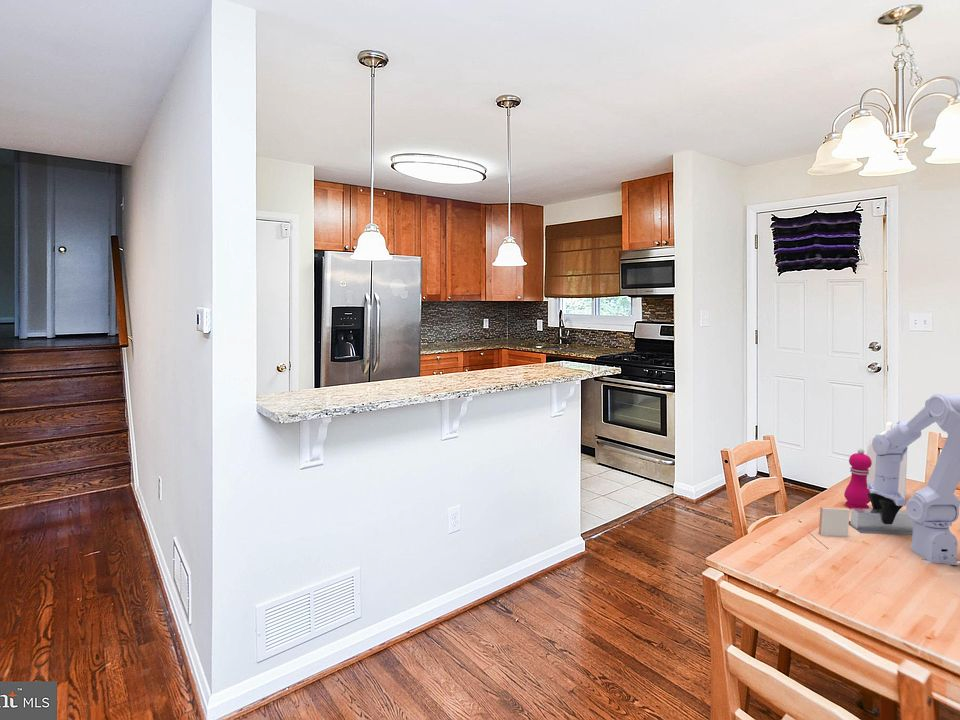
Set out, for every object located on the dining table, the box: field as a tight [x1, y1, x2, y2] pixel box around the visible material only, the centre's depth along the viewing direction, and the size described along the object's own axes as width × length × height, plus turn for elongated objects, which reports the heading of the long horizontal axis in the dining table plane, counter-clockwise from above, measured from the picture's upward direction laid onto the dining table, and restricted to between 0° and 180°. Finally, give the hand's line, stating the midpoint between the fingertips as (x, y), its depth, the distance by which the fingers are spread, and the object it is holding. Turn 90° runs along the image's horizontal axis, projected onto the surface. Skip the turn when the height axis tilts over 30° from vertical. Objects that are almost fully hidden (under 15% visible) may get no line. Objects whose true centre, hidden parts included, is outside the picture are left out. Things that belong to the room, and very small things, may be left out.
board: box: [849, 520, 913, 536], centre depth 162 cm, size 9×17×1 cm, turn 84°
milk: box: [866, 421, 908, 499], centre depth 188 cm, size 12×12×26 cm
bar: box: [850, 508, 913, 531], centre depth 162 cm, size 4×16×5 cm, turn 84°
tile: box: [818, 506, 851, 537], centre depth 157 cm, size 2×7×8 cm, turn 84°
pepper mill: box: [843, 448, 872, 510], centre depth 178 cm, size 7×7×20 cm
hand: (883, 521), depth 162 cm, fingers closed on bar, 3 cm apart
